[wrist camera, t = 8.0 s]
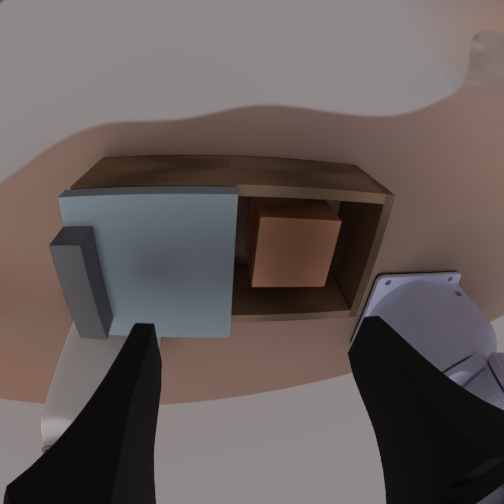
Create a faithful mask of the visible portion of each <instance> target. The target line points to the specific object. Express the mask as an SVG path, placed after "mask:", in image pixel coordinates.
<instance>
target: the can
mask: <svg viewBox="0 0 504 504" xmlns="http://www.w3.org/2000/svg"><path fill="white" fill-rule="evenodd" d="M127 337H128V336H121V335H108V339H107V340H100V339H87V338H80V335H79V333H78V331H77V328H76V326H75V323H74V321H73V324H72V326H71V329H70V331H69V334H68V336H67V339H66V342H65V344H64V347H63V350H62V353H61V355H60V358H59V361H58V364H57V367H56V370H55V373H54V376H53V379H52V382H51V386H50V389H49V392H48V396H47V399H46V403H45V407H44V410H43V414H42V419H41V431H42V436H43V440H44V447H43V448H42V453H43V454H44V453H45V452H46V451H47V450H48V449H49V448H50V447H51V446H52V445H53V444H54V443H55V442H56V441H57V440H58V439H59V437H60V436H61V435H62V434H63V433H64V432H65V430H66V429H67V428H68V427H69V426H70V425H71V423H72V422H73V421H74V420H75V418H76V417H77V416H78V414H79V413H80V412H81V411H82V409H83V408H84V407H85V405H86V404H87V402H88V401H89V400H90V398H91V397H92V395H93V394H94V392H95V391H96V389H97V388H98V386H99V385H100V383H101V382H102V380H103V379H104V377H105V375H106V374H107V372H108V370H109V369H110V367H111V365H112V364H113V362H114V360H115V359H116V357H117V355H118V353H119V352H120V350H121V348H122V346H123V344H124V343H125V341H126V339H127ZM160 339H161V337H157V341H158V346H159V348H160Z"/></svg>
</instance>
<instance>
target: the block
mask: <svg viewBox="0 0 504 504" xmlns="http://www.w3.org/2000/svg"><path fill="white" fill-rule="evenodd" d="M341 222H342V221H341V220H340V218H339V217H338V216H337V214H336V213H335V212H334V211H333V209H332V208H331V207H330V206H329V204H328V203H327V202H326V201H325V200H322V199H304V198H283V197H257V196H250V199H249V208H248V218H247V228H246V238H245V252H246V258H247V263H248V269H249V274H250V280H251V285H252V287H324V285H325V282H326V278H327V275H328V271H329V268H330V264H331V260H332V257H333V253H334V249H335V246H336V242H337V238H338V234H339V230H340V226H341Z"/></svg>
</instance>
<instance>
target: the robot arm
mask: <svg viewBox="0 0 504 504" xmlns="http://www.w3.org/2000/svg"><path fill="white" fill-rule="evenodd" d="M460 278H461V274H460V273H459V272H443V273H421V274H396V275H381V276H379V277H378V278H377V279H376V281H375V284H374V287H373V289H372V292H371V295H370V297H369V300H368V302H367V305H366V307H365V310H364V312H363V315H362V317H361V320H360V322H359V325H358V327H357V329H356V332H355V334H354V337H353V339H352V341H351V344H350V345H351V348H350V350H349V352H348V356H349V360H350V364H351V368H352V372H353V376H354V379H355V382H356V384H357V387H358V389H359V392H360V395H361V397H362V400H363V402H364V405H365V407H366V410H367V412H368V415H369V417H370V420H371V423H372V425H373V428H374V431H375V435H376V439H377V443H378V447H379V451H380V456H381V462H382V467H383V473H384V481H385V489H386V504H504V353H496V351H497V341H496V336H495V332H494V329H493V327H492V325H491V324H490V322H489V321H488V320H487V318H486V317H485V316H484V314H483V313H482V312H481V311H480V309H479V308H478V307H477V306H476V305H475V303H474V302H473V301H472V300H471V298H470V297H469V296H468V295H467V294H466V293H465V291H464V290H463V289H462V288H461V287H460V286H459V284H458V282H459V280H460ZM161 369H162V361H161V356H160V351H159V346H158V341H157V336H156V330H155V325H154V323H135V324H134V325H133V327H132V329H131V331H130V333H129V335H128V337H127V339H126V341H125V343H124V344H123V346H122V348H121V350H120V352H119V353H118V355H117V357H116V359H115V360H114V362H113V364H112V365H111V367H110V369H109V370H108V372H107V374H106V375H105V377H104V379H103V380H102V382H101V383H100V385H99V386H98V388H97V389H96V391H95V392H94V394H93V395H92V397H91V398H90V400H89V401H88V402H87V404H86V405H85V407H84V408H83V409H82V411H81V412H80V413H79V414H78V416H77V417H76V418H75V420H74V421H73V422H72V423H71V425H70V426H69V427H68V428H67V429H66V430H65V432H64V433H63V434H62V435H61V436H60V437H59V439H58V440H57V441H56V442H55V443H54V444H53V445H52V446H51V447H50V448H49V449H48V450H47V451H46V452H45V453H44V454H43V455H42V456H41V457H40V458H39V459H38V460H37V461H36V462H35V463H34V464H33V465H32V466H31V467H30V468H28V469H27V470H26V471H25V472H23V473H22V474H21V475H20V476H18V477H17V478H16V479H15V480H14V481H12V482H11V483H10V484H9V485H7V487H6V491H5V495H4V503H3V504H156V498H155V483H154V443H155V434H156V425H157V416H158V408H159V400H160V393H161Z"/></svg>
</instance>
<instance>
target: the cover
mask: <svg viewBox="0 0 504 504" xmlns="http://www.w3.org/2000/svg"><path fill="white" fill-rule="evenodd" d="M58 201H59V206H60V212H61V217H62V222H63V226H64V227H63V228H62V229H61V231H60V232H59V233H58V234H57V236H56V237H55V238H54V240H53V241H52V242H51V244H50V245H49V247H50V251H51V254H52V258H53V261H54V265H55V268H56V271H57V275H58V278H59V281H60V284H61V287H62V290H63V293H64V296H65V299H66V302H67V304H68V307H69V310H70V313H71V315H72V318H73V320H74V323H75V326H76V328H77V331H78V333H79V335H80V338H87V339H100V340H107V339H108V335H121V336H128V335H129V333H130V331H131V329H132V327H133V325H134V324H135V323H154V325H155V330H156V336H157V337H179V338H223V337H230V328H231V308H232V289H233V271H234V254H235V237H236V221H237V206H238V191H237V187H213V186H155V187H116V188H93V189H75V190H65V191H64V192H63V193H62V194H61V195H60V196H59V197H58Z"/></svg>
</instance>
